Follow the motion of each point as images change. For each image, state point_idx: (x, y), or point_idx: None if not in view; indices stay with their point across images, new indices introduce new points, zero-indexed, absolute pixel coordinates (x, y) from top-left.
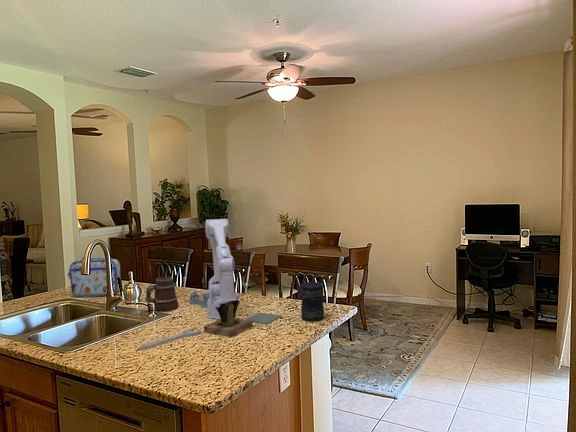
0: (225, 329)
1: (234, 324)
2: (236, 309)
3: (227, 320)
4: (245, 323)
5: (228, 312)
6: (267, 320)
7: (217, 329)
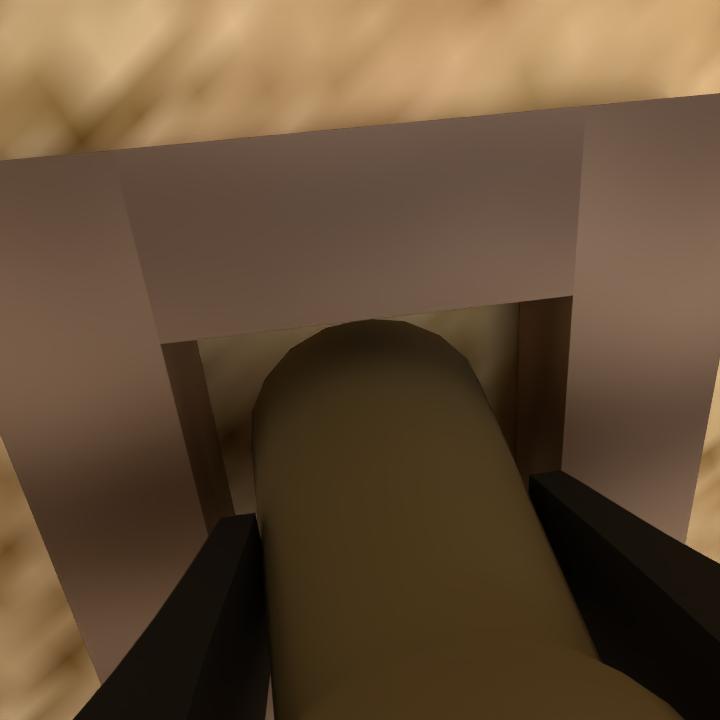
0: (710, 290)
1: (343, 377)
2: (103, 700)
3: (521, 486)
4: (180, 178)
5: (574, 650)
6: None
7: (692, 440)
